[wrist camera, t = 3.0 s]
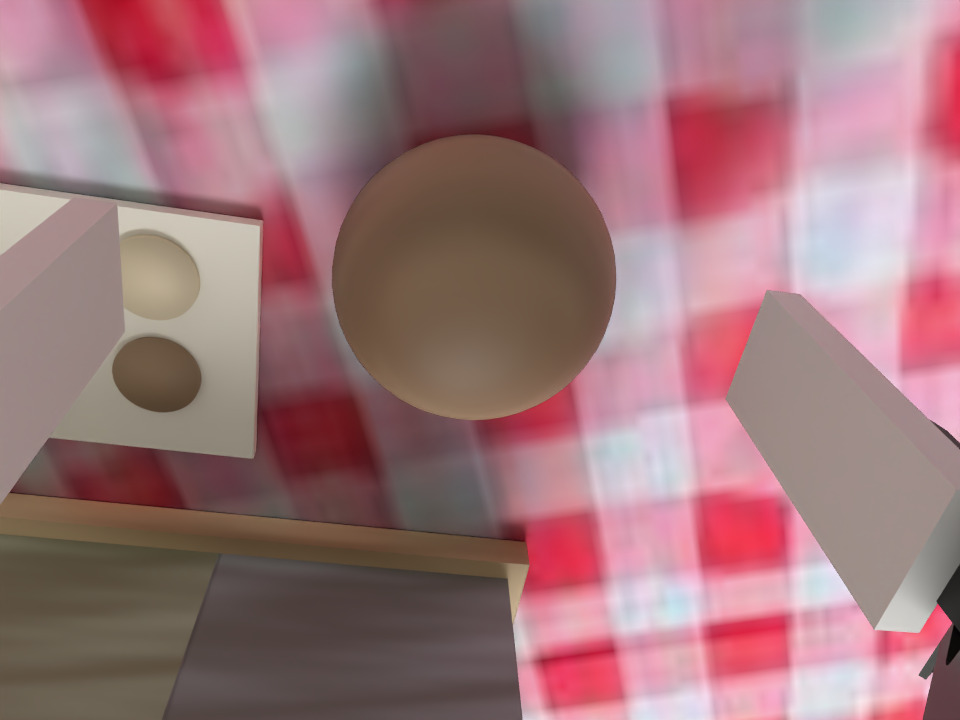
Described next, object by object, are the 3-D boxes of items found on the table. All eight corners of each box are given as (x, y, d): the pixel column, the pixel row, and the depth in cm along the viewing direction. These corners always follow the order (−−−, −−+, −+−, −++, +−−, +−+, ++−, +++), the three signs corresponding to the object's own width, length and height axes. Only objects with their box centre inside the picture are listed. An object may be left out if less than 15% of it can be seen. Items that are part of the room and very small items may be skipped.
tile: (-186, 157, 17) (-205, 164, 17) (263, 220, 19) (258, 228, 18) (-120, 410, 21) (-134, 423, 20) (256, 450, 22) (251, 463, 22)
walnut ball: (358, 85, 17) (325, 159, 12) (616, 128, 18) (688, 214, 13) (338, 321, 20) (303, 462, 15) (560, 349, 21) (600, 492, 16)
